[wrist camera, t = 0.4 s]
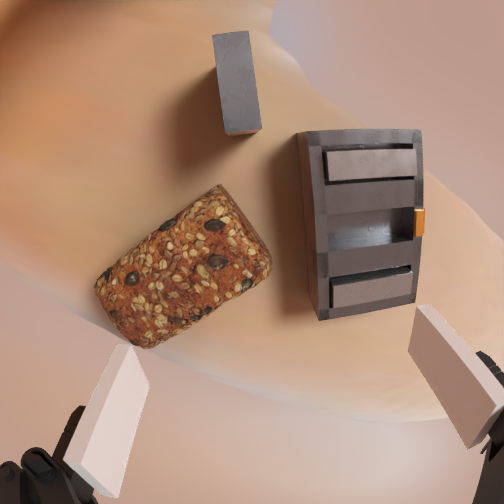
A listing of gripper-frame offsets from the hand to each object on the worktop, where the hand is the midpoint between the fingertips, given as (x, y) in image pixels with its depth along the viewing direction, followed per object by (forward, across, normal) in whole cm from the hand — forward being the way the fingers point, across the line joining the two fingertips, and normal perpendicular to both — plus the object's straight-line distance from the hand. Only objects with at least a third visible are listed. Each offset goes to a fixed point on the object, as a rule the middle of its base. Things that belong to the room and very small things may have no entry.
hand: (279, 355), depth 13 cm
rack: (+25, +12, -1) cm, 28 cm away
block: (+25, 0, +14) cm, 29 cm away
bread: (+25, -9, -4) cm, 27 cm away
